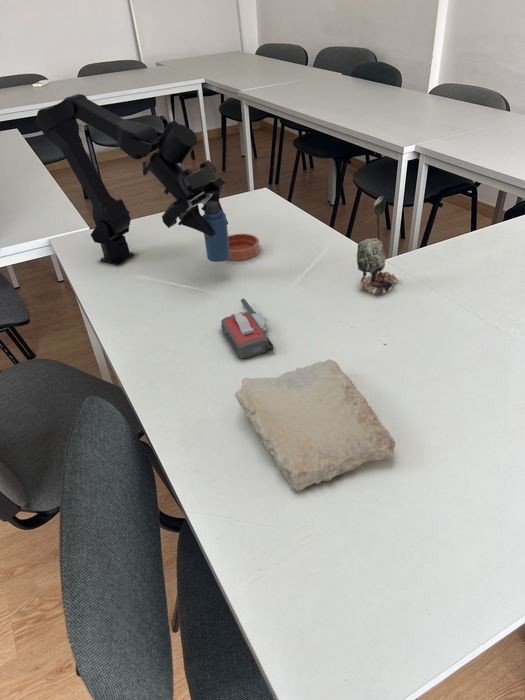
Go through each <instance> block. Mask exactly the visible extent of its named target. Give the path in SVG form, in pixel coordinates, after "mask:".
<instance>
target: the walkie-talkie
mask: <svg viewBox="0 0 525 700" xmlns="http://www.w3.org/2000/svg"><path fill="white" fill-rule="evenodd" d="M240 302H241V304H242V305H243V307H244V308H245V309H246V310H247V312H246V311H244V312H243V311H238V312H235V313H232V314H231V315H230V316H227V317H224V318H222V319H221V320H220V323H221V324H220V326H221V331H222V333H223V334H224V336H225V337H226V339H227V341H228V342H229V343H230V345H231V347H232V349H233V350H234V351H235V353H236V355H237V357H238V358H240V359H246V358H250V357H253V356H256V355H261V354H264V353H267V352H272V351H273V350H274V344H273V343H272V341H271V340H270V338H269V337H268V335H267V332H266V331H267V327H268V326H267V321H266V319H265V318H264V317H263V315H262V313H261V312H260V311H259V312H256V311H255V310H254V309H253V308H252V306H251V305H250V304H249V303H248V301H247V300H246V299H245V298H241V299H240Z"/></svg>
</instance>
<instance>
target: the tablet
mask: <svg viewBox="0 0 525 700" xmlns="http://www.w3.org/2000/svg"><path fill="white" fill-rule="evenodd" d="M241 384H242V385H241V388H239V389H238V390H237V391H236V392H235V393H234V397H235V398H236V399H237V402H238V404H239V406H240V407H241V408H242V410H244V412H245V413H246V417H247V418H248V419H249V420H250V423H251V424H252V428H253V429H254V431H256V432H257V434H258V435H260V437H261V438H262V442H263V445H264V447H265V448H266V449H267V451H268V452H269V454H270V455H271V457H273V459H274V460H275V463H276V465H277V467H278V469H279V471H280V472H282V475H283V478H284V479H286V480H287V483H288V485H290V487H291V488H292V489H294V490H296V491H303V490H304V489H306V488H308V487H309V486H313V484H315V485H318V484H321V482H330V481H332V479H333V478H335V477H337V476H340V475H341V474H345V473H347V472H350V471H353V470H355V469H356V468H357V467H361V465H362V464H364V463H366V462H371V461H378V462H379V461H381V459H386V458H387V459H390V458H391V459H392V458H394V451H395V448H396V440H395V439H394V437H393V436H392V435H391V434H390V432H389V430H388V429H387V428H386V427H385V426H384V425H382V422H381V420H380V418H379V417H378V415H377V414H376V412H375V411H374V409H373V408H372V407H371V406H370V403H369V402H368V400H367V399H366V398H365V396H364V395H363V394H362V393H361V392H360V391H359V389H358V388H357V386H356V385H355V383H354V382H352V380H351V378H350V377H349V376H348V375H347V374H346V373H345V372H344V371H343V370H342V368H341V367H340V365H339V363H338V362H336V361H335V360H333V359H327V360H324V361H318V362H315V363H313V364H310V365H306V366H303V367H297V368H296V369H295V370H291V371H286V372H284V373H282V374H281V375H280V376H277V377H253V378H249V377H244V378H242V380H241Z"/></svg>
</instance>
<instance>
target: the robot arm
mask: <svg viewBox="0 0 525 700" xmlns="http://www.w3.org/2000/svg"><path fill="white" fill-rule="evenodd" d="M77 120H78V121H81V122H83V123H84V124H86V125H88V126H90V127H91V128H94V129H95V130H96V131H98V132H100V133H102V134H103V135H106V136H107V137H109V138H111V139H113V141H115V142H116V143H117V146H118V147H119V149H120V150H121V151H122V152H123V153H125V154H127V156H129V157H130V158H132V159H134V160H136V161H138V160H141V159H143V158H145V157H147V156H150V155H151V156H150V157H149V159H147V160H144V161H143V162H142V174H143V176H147V175H149V174H152V175H153V176H154V177H155V178H156V179H157V180H158V181H159V182H160V184H162V185H163V187H164V188H165V189H164V190H163V193H164V194H165V195H166V196H168V195H171V196H172V197H173V198H174V199H175V201H173V202H172V203H171V204H170V205H169V206H168V208H166V210H165V212H164V213H163V214H162V215H161V220H162V223H163V224H164V225H165V226H166V227H167V228H168V229H170V228H172V227H173V226H175V225H176V224H177V225H178V226H185V227H187V228H190V229H193V230H196V231H197V232H201V233H203V234H204V233H205V234H207V235H209V236H214V234H215V232H214V231H213V229H212V228H211V227H210V225H209V224H208V223H207V222H206V221H205V219H204V218H203V217H202V216H203V215H202V214H201V213H200V208H199V203H201V204H202V205H203V206H201V210H202V211H203V212H205V211H206V210H207V206H206V203H207V202H210V201H216V202H218V207H219V209H221V210H222V212H223V213H225V212H224V210H223V208H222V204H221V202H220V194H221V192H222V190H223V187H225V186H226V182H225V181H224V180H223V179H222V177H220V176H216V173H217V167H216V166H215V165H214V163H212V162H211V161H210V160H209V159H207V160H205V161H203V162H201V163H199V169H198V170H196V171H194V172H193V170H192V169H190V168H186V169H184V168H183V166H182V165H180V164H183V163H184V162H185V161H186V159H187V158H188V156H189V155H190V154H191V152H192V151H193V150H194V148H195V147H196V146H197V144H198V137H197V135H196V133H195V132H194V130H192V128H189V127H188V126H186V125H183V124H180V123H178V122H177V120H172V121H169V122H168V123H167V125H166V127H165V130H164V131H160V130H159V131H158V130H157V129H156V128H155V127H153V126H151V125H149V124H146V123H143V122H140V121H131V120H127V119H124V118H122V117H120V116H119V115H117V114H115V113H113V112H112V111H110V110H109V109H106V108H105V107H103V106H101V105H99V104H97V103H96V102H94V101H92V100H90V99H88V97H87V96H86V95H85V94H83V93H82V94H81V93H76V94H74V95H70V96H67V97H65V98H64V99H63V100H61V101H60V102H59V103H55V104H52V105H50V106H46V107H43V108H40V109H39V110H38V111H37V113H36V119H35V121H36V124H37V126H38V128H39V130H40V131H41V133H42V134H43V135H44V137H45V138H46V139H47V141H48V142H50V143H52V145H54V146H56V147H57V148H59V149H60V151H61V153H62V154H63V156H64V158H65V160H67V163H68V164H69V167H70V168H71V170H72V171H73V174H74V175H75V177H76V179H77V181H78V182H79V184H80V186H81V188H82V189H83V191H84V193H85V194H86V196H87V198H88V200H89V202H90V203H91V206H92V207H91V209H92V211H91V212H92V219H93V222H94V224H95V227H94V229H93V230H92V232H91V233H90V237H91V239H92V240H93V242H94V243H96V244H100V246H101V250H102V254H103V257H101V258H100V262H101V263H107V264H111V265H116V266H121V264H123V263H124V262H126V261H128V260H129V259H130V258H132V257H134V255H135V254H134V253H133V252H130V249H129V244H128V242H127V240H126V236H125V234H127V233H129V232H130V225H131V221H132V220H131V219H132V218H131V216H130V214H131V212H130V211H129V210H128V208H127V207H126V205H125V202H124V201H123V199H121V198H119V199H118V200H117V199H116V198H114V197H113V196H111V195H110V192H109V191H108V189H107V188H106V185H105V184H104V181H103V180H102V178H101V177H100V175H99V173H98V171H97V169H96V167H95V166H94V164H93V162H92V160H91V158H90V157H89V154H88V153H87V151H86V149H85V147H84V145H83V144H82V142H81V139H80V125H79V122H78V121H77ZM157 151H158V152H157ZM178 219H179V222H178ZM226 222H227V226H228V225H229V221H228V219H227V218H226Z"/></svg>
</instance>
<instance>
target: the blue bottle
mask: <svg viewBox="0 0 525 700" xmlns="http://www.w3.org/2000/svg"><path fill="white" fill-rule="evenodd" d="M206 206H207V210H206V211H203V212H204V213H203V215H201V216H202V217H203V218H204V219H205V221H206V222H207V223H208V224H209V225H210V227H211V228H212V229H213V231H214V232H215V234H214V236H209V235H207V234H205V233H203V237H204V243H205V252H206V257H207V260H208V261H210V262H214V263H219V262H225V261H228V260H227V259H228V258H229V257H230V248H229V239H228V236H229V231H228V225H227V222H226V219H227V214H226V213H225V212H224V211H223V212H224V213H223V212H222V210H223V209H222V210H221V209H219V207H218V202H216V201H210V202H207V203H206Z"/></svg>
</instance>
